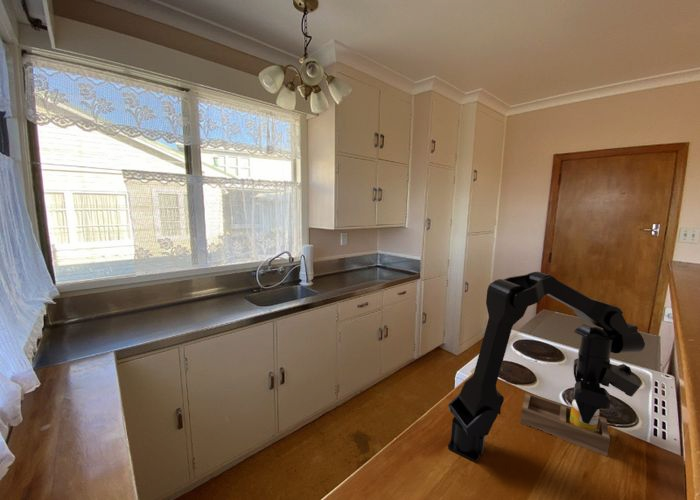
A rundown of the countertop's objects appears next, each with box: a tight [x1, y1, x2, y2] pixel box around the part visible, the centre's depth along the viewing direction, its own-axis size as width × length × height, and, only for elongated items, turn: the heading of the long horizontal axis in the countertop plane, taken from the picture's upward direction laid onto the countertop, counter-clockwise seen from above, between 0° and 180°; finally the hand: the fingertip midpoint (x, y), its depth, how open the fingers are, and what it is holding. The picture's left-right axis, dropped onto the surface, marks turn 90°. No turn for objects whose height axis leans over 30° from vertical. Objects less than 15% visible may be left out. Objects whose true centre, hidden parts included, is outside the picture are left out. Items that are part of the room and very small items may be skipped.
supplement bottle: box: [569, 399, 600, 433], centre depth 75 cm, size 5×5×10 cm
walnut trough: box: [519, 391, 611, 457], centre depth 78 cm, size 9×18×4 cm, turn 54°
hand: (584, 412), depth 75 cm, fingers open, 9 cm apart
